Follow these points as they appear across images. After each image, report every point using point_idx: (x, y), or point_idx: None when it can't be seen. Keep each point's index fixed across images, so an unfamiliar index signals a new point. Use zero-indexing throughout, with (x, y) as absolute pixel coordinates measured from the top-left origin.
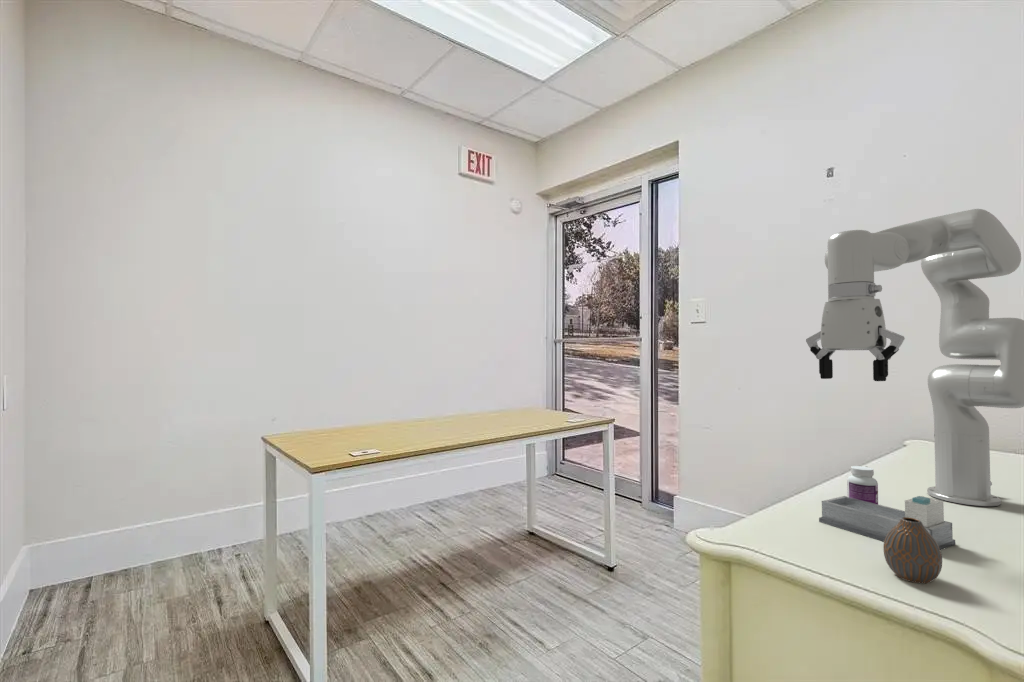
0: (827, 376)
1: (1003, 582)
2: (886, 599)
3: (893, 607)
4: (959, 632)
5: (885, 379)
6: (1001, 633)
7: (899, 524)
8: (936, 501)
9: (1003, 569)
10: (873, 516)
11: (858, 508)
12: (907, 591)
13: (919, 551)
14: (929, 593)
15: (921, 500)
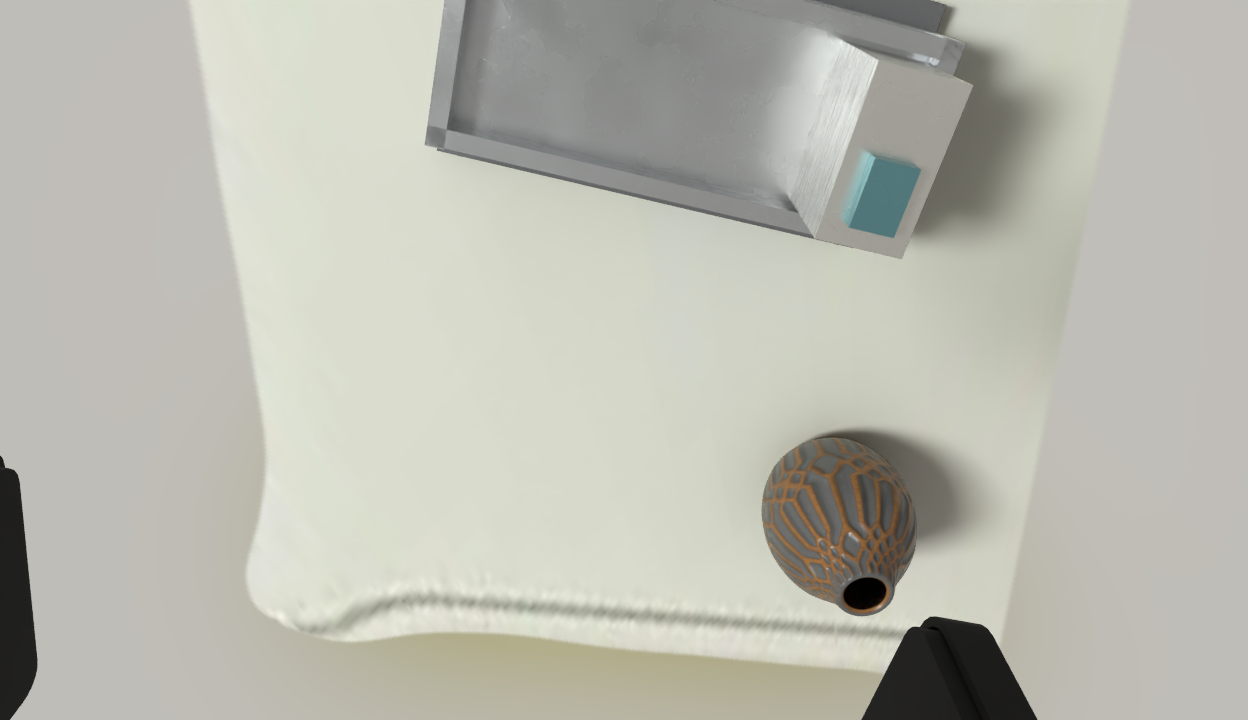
0: (10, 630)
1: (1037, 323)
2: (783, 638)
3: (800, 662)
4: None
5: (977, 642)
6: None
7: (828, 597)
8: (942, 131)
9: (1060, 193)
10: (670, 200)
11: (561, 4)
12: None
13: (866, 587)
14: None
15: (885, 235)
